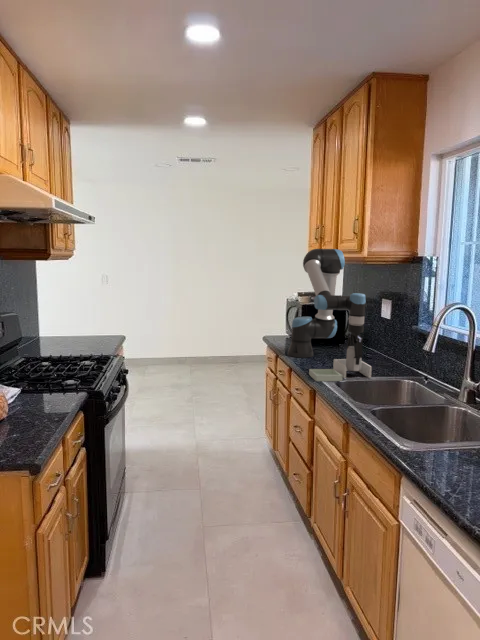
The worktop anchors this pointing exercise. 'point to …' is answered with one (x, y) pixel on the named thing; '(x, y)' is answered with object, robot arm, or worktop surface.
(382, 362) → the worktop surface
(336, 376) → the tray
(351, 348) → the can
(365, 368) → the bay
